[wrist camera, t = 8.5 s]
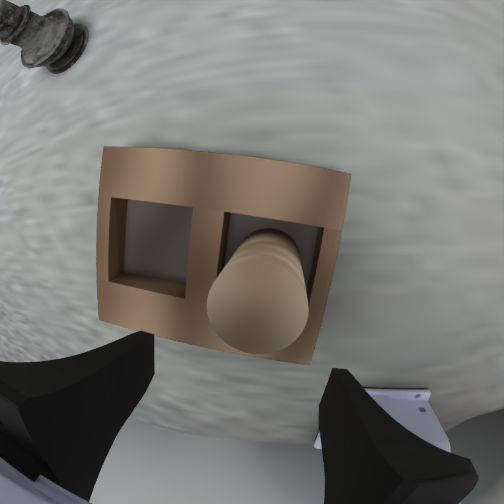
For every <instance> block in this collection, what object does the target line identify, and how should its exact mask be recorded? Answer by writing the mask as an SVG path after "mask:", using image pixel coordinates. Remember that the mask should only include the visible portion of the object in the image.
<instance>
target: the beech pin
mask: <svg viewBox="0 0 504 504" xmlns="http://www.w3.org/2000/svg"><path fill="white" fill-rule="evenodd" d="M308 311H309V308H308V299H307V293H306V287H305V281H304V276H303V270H302V264H301V259H300V253H299V249H298V247H297V245H296V243H295V242H294V240H293V239H292V238H291V237H290V236H289V235H288V234H286V233H284V232H283V231H280V230H277V229H273V228H264V229H259V230H257V231H254V232H253V233H251V234H250V235H248V236H247V237H246V238H245V239H244V241H243V242H242V243H241V245H240V246H239V248H238V249H237V250H236V252H235V253H234V255H233V256H232V257H231V259H230V260H229V262H228V263H227V264H226V266H225V267H224V269H223V270H222V272H221V273H220V274H219V276H218V277H217V279H216V280H215V281H214V283H213V285H212V286H211V288H210V291H209V294H208V298H207V314H208V318H209V321H210V324H211V326H212V328H213V329H214V331H215V332H216V334H217V335H218V336H219V337H220V338H221V339H222V340H223V341H224V342H225V343H227V344H228V345H230V346H231V347H233V348H235V349H237V350H239V351H242V352H246V353H251V354H268V353H273V352H277V351H279V350H282V349H284V348H286V347H287V346H289V345H290V344H292V343H293V342H294V341H295V340H296V339H297V338H298V337H299V336H300V334H301V333H302V331H303V329H304V328H305V325H306V322H307V319H308Z"/></svg>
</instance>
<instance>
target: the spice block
mask: <svg viewBox="0 0 504 504" xmlns="http://www.w3.org/2000/svg"><path fill="white" fill-rule="evenodd" d="M350 179H351V174H350V173H345V172H340V171H335V170H330V169H325V168H319V167H314V166H308V165H302V164H296V163H290V162H284V161H277V160H270V159H263V158H256V157H248V156H240V155H231V154H222V153H213V152H202V151H190V150H177V149H162V148H142V147H104V149H103V156H102V165H101V174H100V185H99V197H98V214H97V244H96V268H97V298H98V314H99V320H102V321H105V322H108V323H111V324H115V325H118V326H121V327H125V328H128V329H132V330H136V331H144V332H148V333H152V334H154V336H158V337H162V338H166V339H170V340H174V341H178V342H183V343H187V344H191V345H196V346H200V347H205V348H210V349H215V350H220V351H225V352H230V353H235V354H241V355H246V356H252V357H258V358H264V359H270V360H277V361H284V362H291V363H298V364H306V365H310V363H311V359H312V356H313V352H314V349H315V345H316V341H317V337H318V334H319V330H320V326H321V322H322V318H323V314H324V310H325V306H326V302H327V298H328V294H329V289H330V285H331V280H332V276H333V271H334V267H335V262H336V257H337V252H338V248H339V242H340V237H341V232H342V227H343V221H344V216H345V210H346V204H347V198H348V192H349V186H350ZM264 228H273V229H277V230H280V231H283V232H284V233H286V234H288V235H289V236H290V237H291V238H292V239H293V240H294V242H295V243H296V245H297V247H298V249H299V253H300V259H301V264H302V270H303V276H304V281H305V287H306V293H307V299H308V308H309V311H308V319H307V322H306V325H305V328H304V329H303V331H302V333H301V334H300V336H299V337H298V338H297V339H296V340H295V341H294V342H293V343H292V344H290V345H289V346H287V347H286V348H284V349H282V350H279V351H277V352H273V353H268V354H251V353H246V352H242V351H239V350H237V349H235V348H233V347H231V346H230V345H228V344H227V343H225V342H224V341H223V340H222V339H221V338H220V337H219V336H218V335H217V334H216V332H215V331H214V329H213V328H212V326H211V324H210V321H209V318H208V314H207V298H208V294H209V291H210V288H211V286H212V285H213V283H214V281H215V280H216V279H217V277H218V276H219V274H220V273H221V272H222V270H223V269H224V267H225V266H226V264H227V263H228V262H229V260H230V259H231V257H232V256H233V255H234V253H235V252H236V250H237V249H238V248H239V246H240V245H241V243H242V242H243V241H244V239H245V238H246V237H247V236H248V235H250V234H251V233H253V232H254V231H257V230H259V229H264Z"/></svg>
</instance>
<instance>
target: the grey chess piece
mask: <svg viewBox="0 0 504 504" xmlns="http://www.w3.org/2000/svg"><path fill="white" fill-rule="evenodd" d="M87 41H88V30H87V28H86V27H85V26H83V25H81V24H75V25H73V23H72V20H71V18H70V17H69V14H68V12H67V11H66V10H64V9H55V10H52V11H51V12H49V13H47V14H46V15H44V16H39V15H37V14H36V13H34V12H32V11H30V6H28V5H24V6H21V7H19V6H17V5H15V4H13V3H11V2H8V1H6V0H0V42H1V44H2V45H8V44H9V43H11V44H14V45H16V46H19V47H21V48H22V50H21V61H22V64H23V65H24V67H27V68H34V67H41V66H47V69H48V70H49V71H50V72H52V73H54V74H55V73H61V72H64V71H65V70H67V69H69V68H70V67H71V66H72V65H73V64H74V63H75V62H76V61H77V60H78V59H79V57H80V56H81V54H82V53H83V51H84V49H85V47H86V44H87Z"/></svg>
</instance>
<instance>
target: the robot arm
mask: <svg viewBox="0 0 504 504" xmlns="http://www.w3.org/2000/svg"><path fill="white" fill-rule="evenodd" d="M154 374H155V373H154V334H152V333H148V332H144V331H138V332H135V333H133V334H130V335H128V336H126V337H123V338H121V339H119V340H116V341H114V342H111V343H109V344H107V345H104V346H102V347H99V348H96V349H93V350H90V351H87V352H85V353H81V354H78V355H74V356H70V357H66V358H61V359H55V360H48V361H41V362H2V361H0V504H92V503H90V502H89V500H90V497H91V494H92V491H93V488H94V485H95V483H96V480H97V478H98V475H99V472H100V470H101V468H102V465H103V463H104V461H105V459H106V456H107V454H108V452H109V450H110V448H111V446H112V444H113V442H114V440H115V438H116V436H117V434H118V432H119V431H120V429H121V427H122V426H123V424H124V423H125V422H126V420H127V419H128V417H129V416H130V414H131V413H132V411H133V410H134V408H135V407H136V406H137V404H138V403H139V401H140V400H141V398H142V397H143V395H144V394H145V392H146V390H147V388H148V386H149V384H150V382H151V380H152V378H153V376H154ZM417 394H418V395H417ZM416 395H417V396H416ZM430 395H431V392H430V391H429V390H394V389H366V388H363V387H362V386H361V384H360V383H359V382H358V381H357V380H356V379H355V378H354V376H353V375H352V374H351V373H350V372H349V371H348V370H347V369H338V368H332V371H331V374H330V377H329V380H328V383H327V385H326V388H325V391H324V394H323V396H322V399H321V402H320V404H319V433H318V435H317V438H316V440H315V442H314V447H315V448H317V449H322V454H323V462H324V471H325V498H324V504H461V501H462V500H463V499H464V498H465V497H466V496H467V495H468V494H469V493H470V492H471V491H472V489H473V488H474V487H475V485H476V483H477V481H478V475H477V472H476V470H475V468H474V467H473V465H472V463H471V460H470V459H468V458H464V457H461V456H459V455H456V454H453V453H451V450H450V444H449V441H448V438H447V436H446V434H445V432H444V430H443V428H442V426H441V424H440V422H439V421H438V419H437V417H436V415H435V413H434V411H433V409H432V408H431V406H430V404H429V402H428V399H429V397H430Z"/></svg>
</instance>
